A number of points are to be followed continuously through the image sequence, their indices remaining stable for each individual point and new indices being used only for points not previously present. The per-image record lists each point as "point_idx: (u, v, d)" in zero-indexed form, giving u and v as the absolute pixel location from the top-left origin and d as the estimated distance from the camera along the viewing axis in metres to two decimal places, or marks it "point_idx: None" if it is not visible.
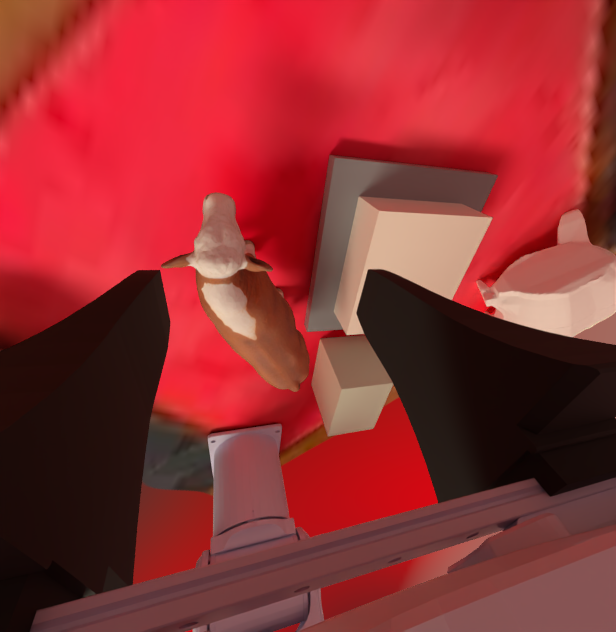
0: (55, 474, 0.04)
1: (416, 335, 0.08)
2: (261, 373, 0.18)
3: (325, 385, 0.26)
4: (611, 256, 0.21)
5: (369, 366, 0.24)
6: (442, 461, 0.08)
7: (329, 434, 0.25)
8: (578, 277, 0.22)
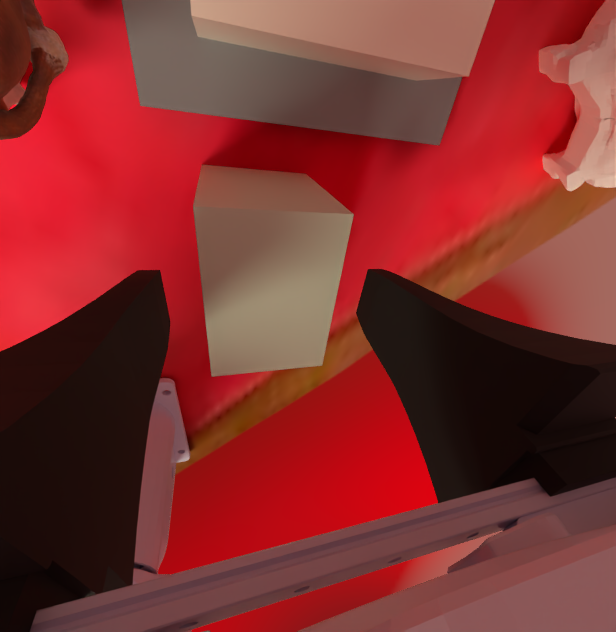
0: (55, 474, 0.04)
1: (416, 335, 0.08)
2: None
3: None
4: None
5: (297, 194, 0.10)
6: (441, 461, 0.08)
7: (214, 372, 0.11)
8: None
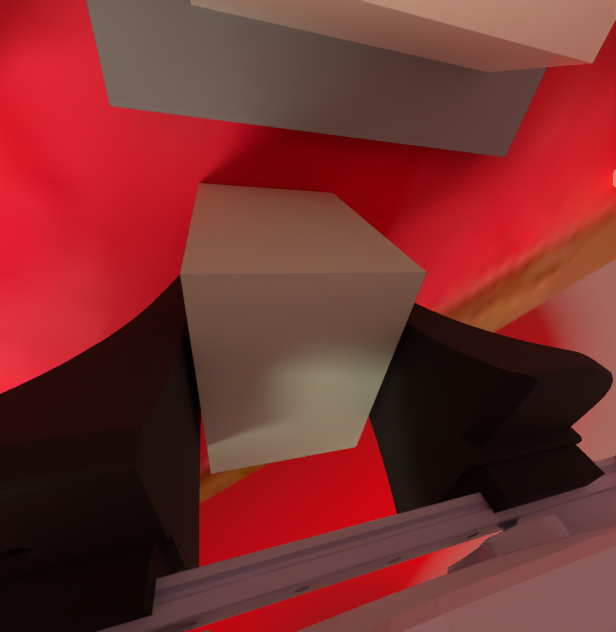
0: (168, 455, 0.04)
1: None
2: None
3: None
4: None
5: (334, 233, 0.07)
6: (399, 470, 0.07)
7: (214, 468, 0.08)
8: None
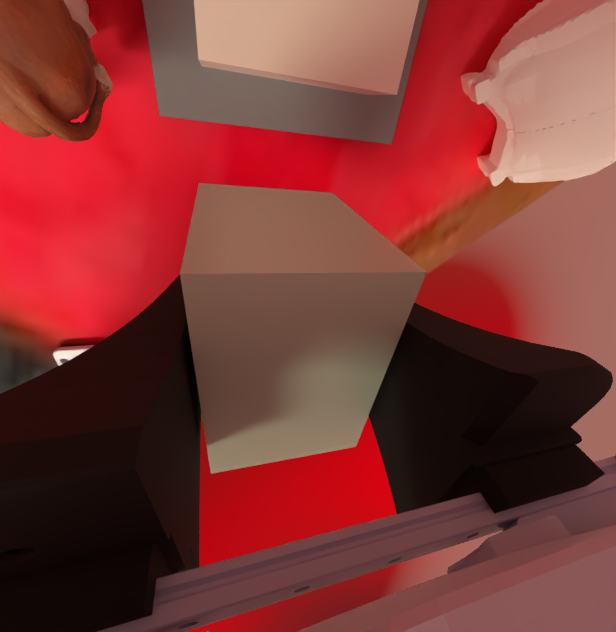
0: (169, 455, 0.04)
1: None
2: None
3: None
4: None
5: (334, 233, 0.07)
6: (399, 471, 0.07)
7: (214, 468, 0.08)
8: None
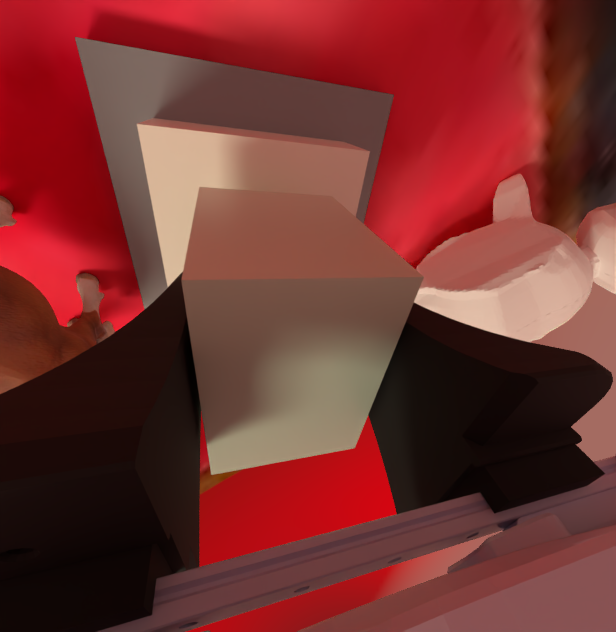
0: (169, 455, 0.04)
1: None
2: None
3: None
4: (559, 236, 0.15)
5: (332, 238, 0.07)
6: (399, 470, 0.07)
7: (214, 469, 0.08)
8: (511, 267, 0.15)
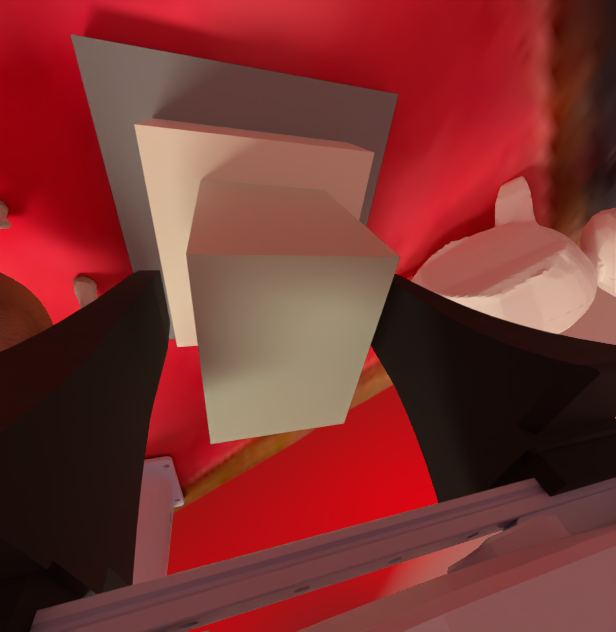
0: (55, 474, 0.04)
1: (416, 335, 0.08)
2: None
3: None
4: (562, 240, 0.14)
5: (321, 224, 0.08)
6: (441, 461, 0.08)
7: (213, 439, 0.09)
8: (513, 273, 0.14)
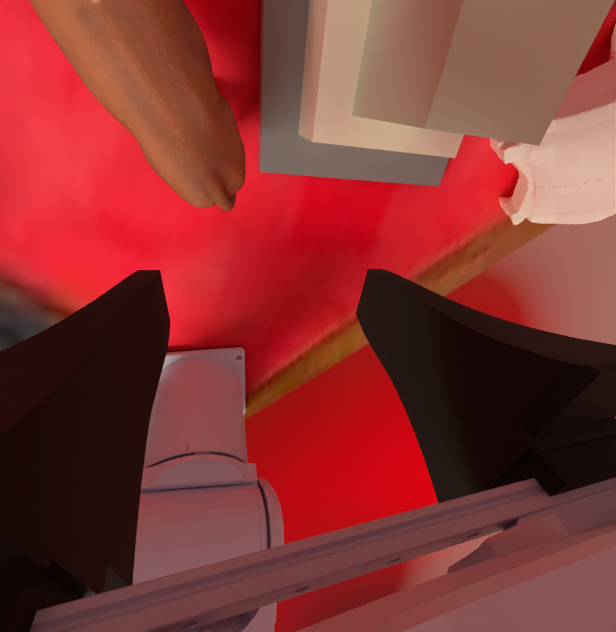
0: (55, 474, 0.04)
1: (416, 335, 0.08)
2: (147, 144, 0.10)
3: None
4: None
5: None
6: (442, 461, 0.08)
7: (430, 119, 0.08)
8: None
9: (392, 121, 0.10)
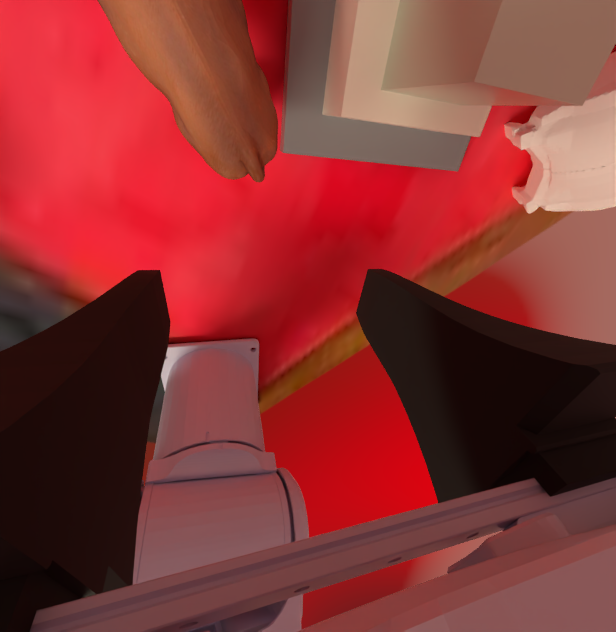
0: (55, 474, 0.04)
1: (416, 335, 0.08)
2: (184, 105, 0.10)
3: None
4: None
5: None
6: (442, 461, 0.08)
7: (480, 72, 0.08)
8: None
9: (432, 84, 0.10)
